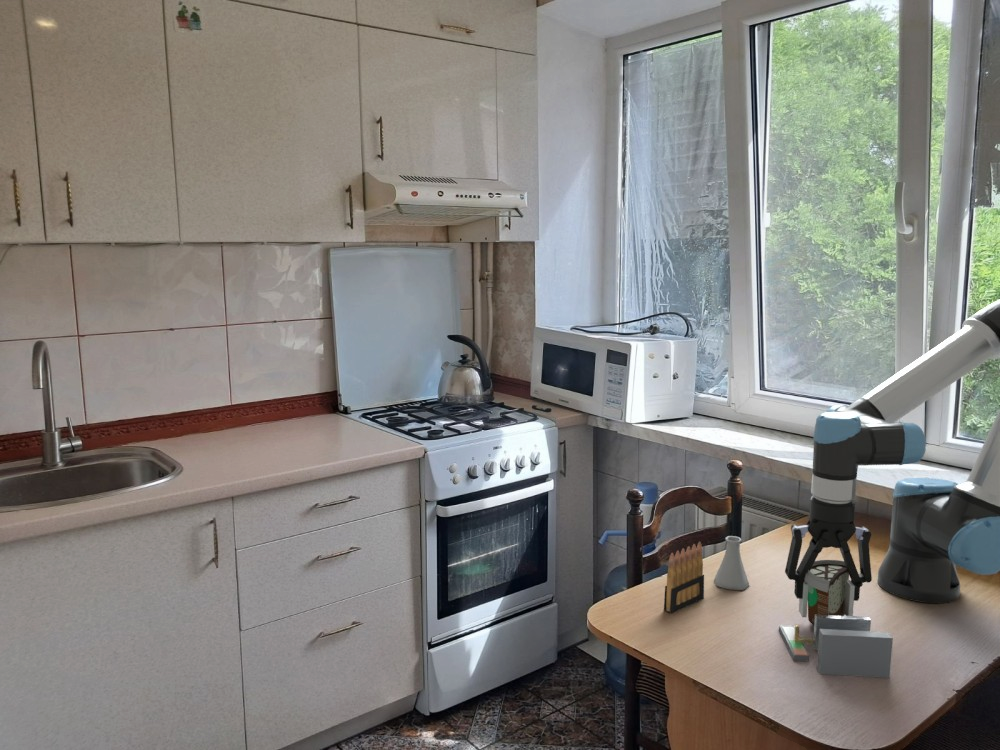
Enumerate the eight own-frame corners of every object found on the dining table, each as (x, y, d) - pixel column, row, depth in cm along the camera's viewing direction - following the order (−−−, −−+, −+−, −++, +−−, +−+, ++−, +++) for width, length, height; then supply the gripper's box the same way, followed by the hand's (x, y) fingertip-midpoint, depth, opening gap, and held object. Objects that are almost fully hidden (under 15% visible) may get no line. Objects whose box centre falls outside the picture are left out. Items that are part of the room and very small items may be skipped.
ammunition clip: (671, 614, 154) (673, 555, 152) (663, 611, 156) (665, 552, 154) (704, 598, 161) (706, 541, 159) (696, 595, 163) (698, 539, 161)
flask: (711, 588, 166) (713, 542, 165) (716, 574, 173) (717, 530, 171) (747, 593, 163) (749, 547, 162) (750, 579, 170) (753, 535, 168)
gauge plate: (866, 649, 140) (868, 617, 139) (868, 652, 139) (871, 620, 138) (793, 645, 141) (795, 613, 140) (795, 648, 140) (797, 616, 139)
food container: (815, 602, 156) (818, 553, 155) (847, 611, 152) (851, 561, 151) (790, 624, 147) (793, 572, 146) (824, 634, 143) (828, 581, 142)
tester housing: (859, 634, 146) (862, 598, 145) (889, 677, 132) (892, 638, 130) (778, 630, 148) (780, 594, 147) (799, 672, 133) (802, 633, 132)
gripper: (883, 492, 148) (875, 608, 152) (770, 489, 150) (764, 603, 154) (899, 505, 141) (889, 626, 145) (779, 502, 143) (773, 621, 147)
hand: (825, 614), depth 149 cm, fingers closed on food container, 7 cm apart
